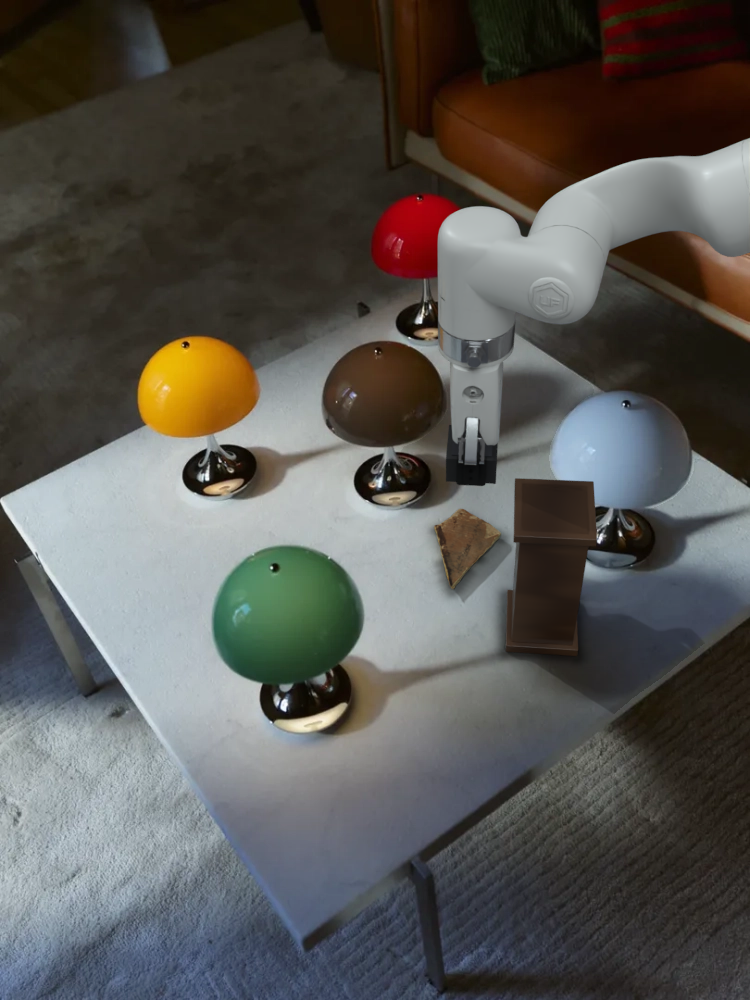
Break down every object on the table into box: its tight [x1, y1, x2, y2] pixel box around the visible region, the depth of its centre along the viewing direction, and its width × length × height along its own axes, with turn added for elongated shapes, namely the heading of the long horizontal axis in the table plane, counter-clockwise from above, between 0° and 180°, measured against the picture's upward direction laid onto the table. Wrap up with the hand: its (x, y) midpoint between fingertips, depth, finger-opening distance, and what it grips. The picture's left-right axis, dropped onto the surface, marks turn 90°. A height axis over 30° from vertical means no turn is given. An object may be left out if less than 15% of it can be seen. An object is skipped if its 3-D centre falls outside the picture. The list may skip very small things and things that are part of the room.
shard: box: [433, 508, 502, 590], centre depth 117 cm, size 11×8×2 cm
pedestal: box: [505, 477, 598, 657], centre depth 102 cm, size 8×8×20 cm
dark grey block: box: [445, 424, 499, 485], centre depth 105 cm, size 6×6×4 cm
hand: (472, 462), depth 106 cm, fingers closed on dark grey block, 5 cm apart
